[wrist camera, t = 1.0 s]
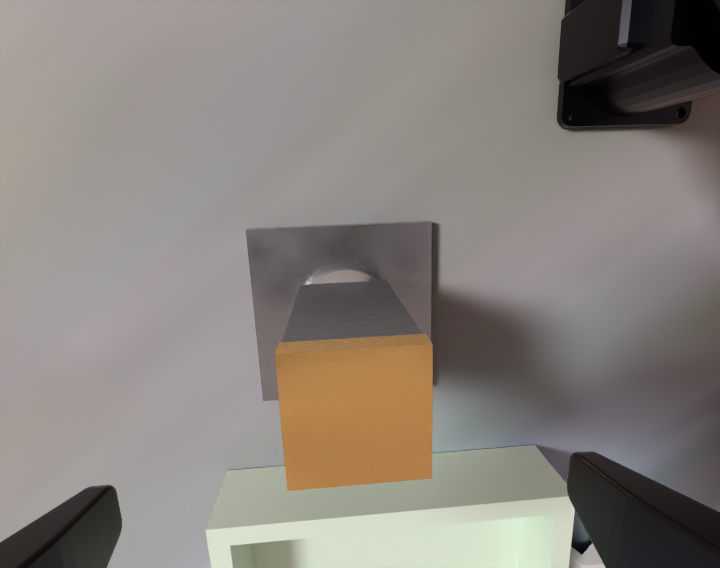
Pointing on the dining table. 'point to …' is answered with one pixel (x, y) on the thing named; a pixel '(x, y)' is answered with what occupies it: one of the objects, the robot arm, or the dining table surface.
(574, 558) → the white arched block
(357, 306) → the strut
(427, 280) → the stud
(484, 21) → the dining table surface
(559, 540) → the bin
